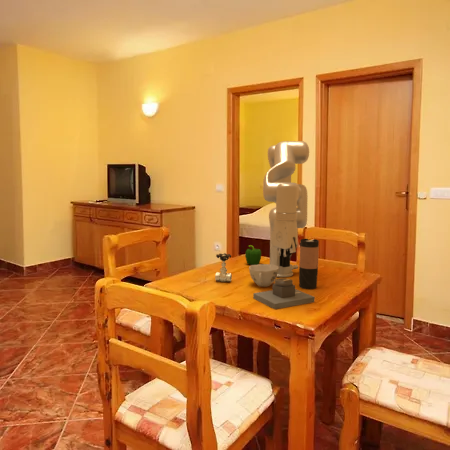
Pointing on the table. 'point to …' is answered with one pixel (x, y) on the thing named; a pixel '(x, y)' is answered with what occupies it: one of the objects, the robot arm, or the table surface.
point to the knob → (283, 288)
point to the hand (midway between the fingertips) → (284, 266)
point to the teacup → (263, 274)
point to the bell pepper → (253, 256)
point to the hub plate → (283, 299)
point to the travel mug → (308, 263)
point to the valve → (223, 269)
